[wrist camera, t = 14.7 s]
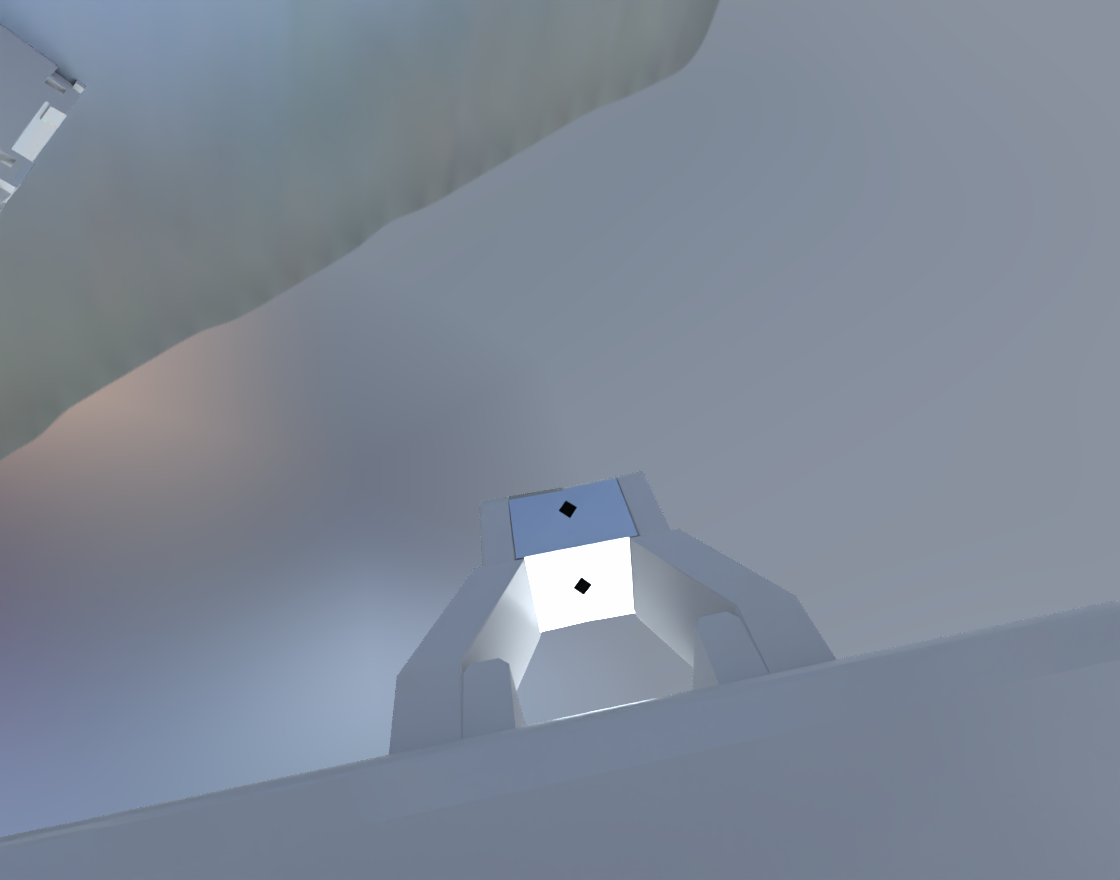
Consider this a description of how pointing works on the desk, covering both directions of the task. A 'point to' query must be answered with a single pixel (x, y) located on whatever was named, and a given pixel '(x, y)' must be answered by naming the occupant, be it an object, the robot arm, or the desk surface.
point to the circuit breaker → (27, 108)
